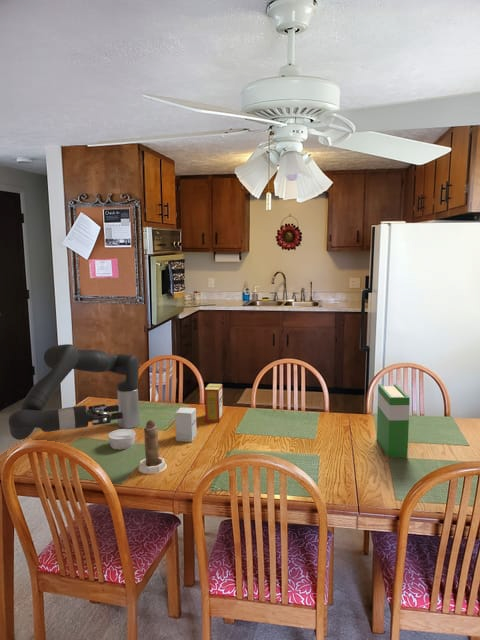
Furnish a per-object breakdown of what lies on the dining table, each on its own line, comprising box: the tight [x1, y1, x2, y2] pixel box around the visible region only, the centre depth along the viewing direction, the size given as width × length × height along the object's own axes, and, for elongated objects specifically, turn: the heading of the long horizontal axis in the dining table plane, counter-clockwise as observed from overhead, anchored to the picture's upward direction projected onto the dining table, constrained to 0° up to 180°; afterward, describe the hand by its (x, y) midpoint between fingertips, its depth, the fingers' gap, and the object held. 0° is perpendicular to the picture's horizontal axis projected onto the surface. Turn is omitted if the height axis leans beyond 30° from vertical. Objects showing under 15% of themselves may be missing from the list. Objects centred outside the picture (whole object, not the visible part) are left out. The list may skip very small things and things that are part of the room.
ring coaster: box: [138, 456, 168, 475], centre depth 185 cm, size 10×10×3 cm
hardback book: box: [376, 383, 411, 458], centre depth 199 cm, size 18×7×24 cm, turn 179°
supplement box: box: [174, 407, 198, 443], centre depth 214 cm, size 7×7×13 cm
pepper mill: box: [143, 419, 160, 467], centre depth 184 cm, size 5×5×18 cm
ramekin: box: [107, 428, 137, 451], centre depth 208 cm, size 11×11×5 cm
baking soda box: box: [204, 383, 224, 423], centre depth 237 cm, size 10×6×16 cm
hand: (120, 411), depth 178 cm, fingers open, 8 cm apart
